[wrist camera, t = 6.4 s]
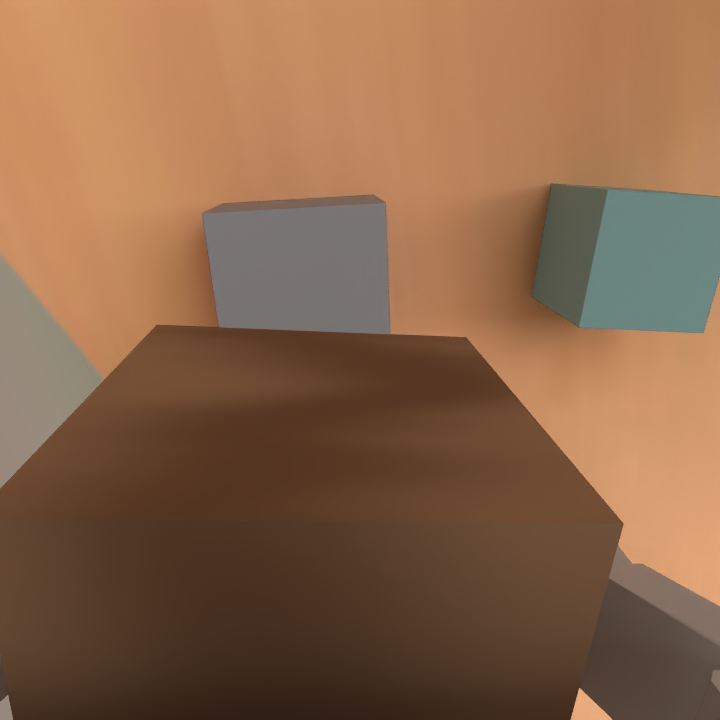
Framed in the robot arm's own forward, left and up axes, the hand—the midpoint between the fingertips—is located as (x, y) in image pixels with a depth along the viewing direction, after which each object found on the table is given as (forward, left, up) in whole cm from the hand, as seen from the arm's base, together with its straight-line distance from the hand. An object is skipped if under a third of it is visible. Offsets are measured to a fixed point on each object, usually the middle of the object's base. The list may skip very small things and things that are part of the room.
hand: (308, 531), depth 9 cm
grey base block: (0, 0, -20) cm, 20 cm away
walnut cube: (0, 0, -2) cm, 2 cm away
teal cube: (-14, -2, -20) cm, 24 cm away
